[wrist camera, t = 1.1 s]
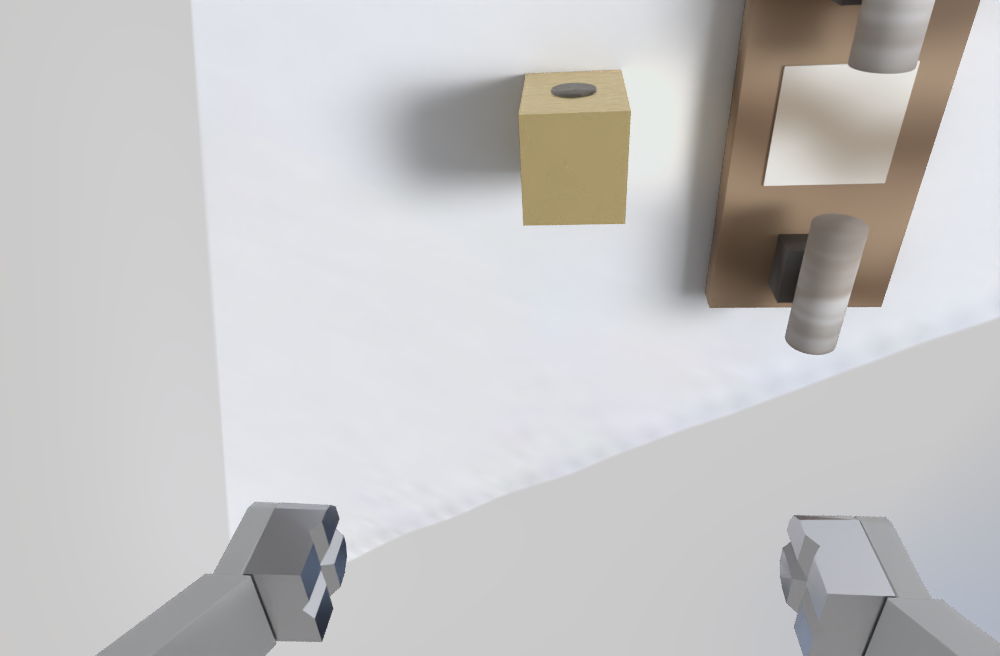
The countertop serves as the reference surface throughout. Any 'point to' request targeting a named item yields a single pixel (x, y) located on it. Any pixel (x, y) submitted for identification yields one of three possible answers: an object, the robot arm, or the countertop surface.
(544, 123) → the block
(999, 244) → the countertop surface
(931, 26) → the shaft mount
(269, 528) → the robot arm
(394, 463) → the countertop surface
